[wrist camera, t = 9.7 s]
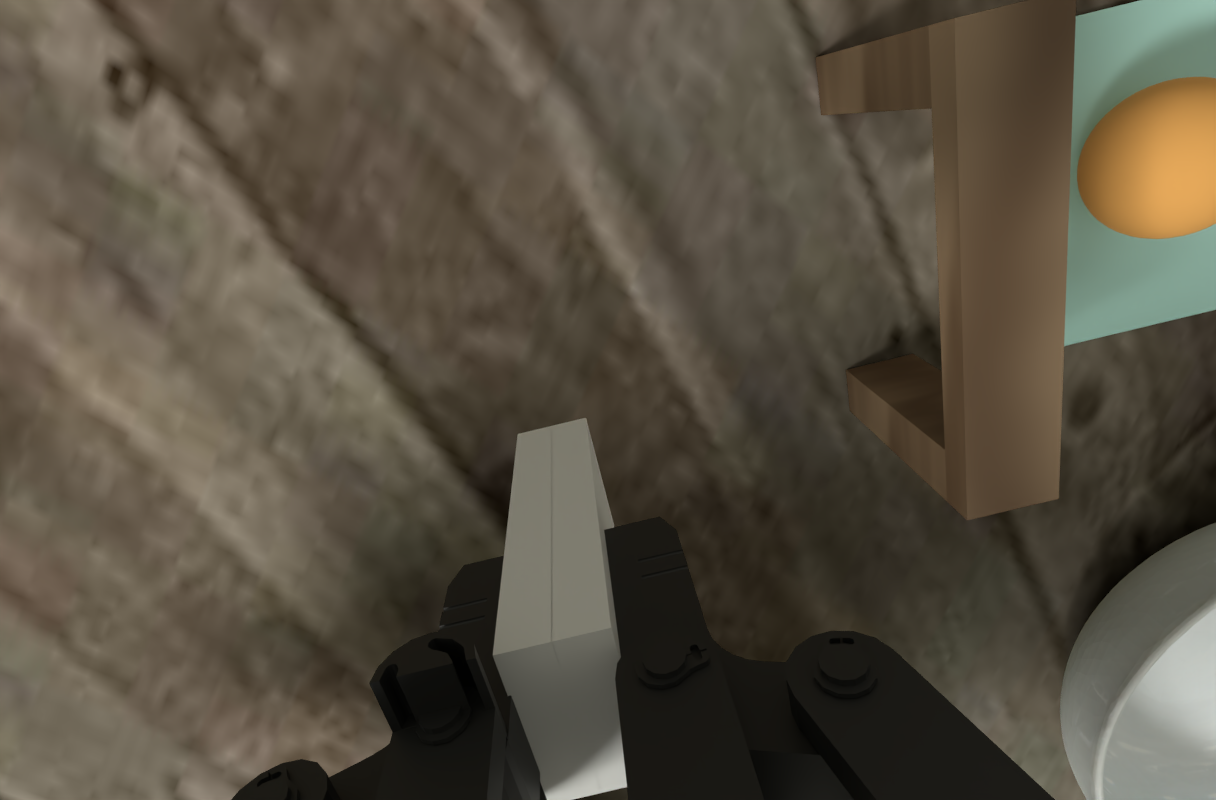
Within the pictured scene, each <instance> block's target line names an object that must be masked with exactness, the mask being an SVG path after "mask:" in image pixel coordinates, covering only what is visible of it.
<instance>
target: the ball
mask: <svg viewBox="0 0 1216 800" xmlns="http://www.w3.org/2000/svg"><path fill="white" fill-rule="evenodd" d="M1077 182H1078V189H1079V193H1080V196H1081V198H1082V200H1083V202H1084V204H1085V206H1086V207H1087V209H1088V210H1089V211H1090V213H1091V214H1092V215H1093V216H1094V217H1095V218H1096V219H1097V220H1098V221H1100V222H1101V223H1102V224H1104V225H1105V226H1107V227H1108V228H1110V229H1112V230H1114V231H1116V232H1119V233H1122V234H1125V235H1128V236H1132V237H1137V238H1147V239H1166V238H1173V237H1179V236H1184V235H1188V234H1192V233H1195V232H1198V231H1201V230H1203V229H1206V228H1208V227H1210V226H1212V225H1214V224H1216V78H1211V77H1186V78H1177V79H1172V80H1168V81H1164V82H1161V83H1158V84H1155V85H1152V86H1149V87H1147V88H1145V89H1142V90H1140V91H1138V92H1136V93H1134V94H1133V95H1131V96H1129V97H1128V98H1126V99H1124V100H1123V101H1122V102H1120V103H1119V104H1118V105H1116V106H1115V107H1114V108H1113V109H1111V110H1110V111H1109V112H1108V113H1107V114H1106V115H1105V116H1104V117H1103V118H1102V119H1101V120H1100V121H1099V122H1098V123H1097V125H1096V126H1095V127H1094V129H1093V130H1092V131H1091V133H1090V135H1089V136H1088V138H1087V140H1086V142H1085V144H1084V146H1083V148H1082V151H1081V154H1080V157H1079V161H1078V167H1077Z"/></svg>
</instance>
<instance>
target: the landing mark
mask: <svg viewBox="0 0 1216 800" xmlns="http://www.w3.org/2000/svg"><path fill="white" fill-rule="evenodd" d="M1186 77H1211V78H1216V0H1139V1H1135V2H1131V3H1127V4H1123V5H1119V6H1115V7H1111V8H1107V9H1103V10H1099V11H1095V12H1091V13H1087V14H1082V15H1078V16H1076V24H1075V53H1074V81H1073V109H1072V138H1071V166H1070V195H1069V223H1068V251H1067V280H1066V308H1065V336H1064V346H1067V345H1071V344H1075V343H1079V342H1083V341H1087V340H1092V339H1096V338H1100V337H1104V336H1108V335H1112V334H1117V333H1121V332H1125V331H1129V330H1133V329H1137V328H1142V327H1146V326H1150V325H1154V324H1158V323H1162V322H1167V321H1171V320H1175V319H1179V318H1183V317H1187V316H1192V315H1196V314H1200V313H1204V312H1208V311H1212V310H1216V224H1214V225H1212V226H1210V227H1208V228H1206V229H1203V230H1201V231H1198V232H1195V233H1192V234H1188V235H1184V236H1179V237H1173V238H1166V239H1147V238H1137V237H1132V236H1128V235H1125V234H1122V233H1119V232H1116V231H1114V230H1112V229H1110V228H1108V227H1107V226H1105V225H1104V224H1102V223H1101V222H1100V221H1098V220H1097V219H1096V218H1095V217H1094V216H1093V215H1092V214H1091V213H1090V211H1089V210H1088V209H1087V207H1086V206H1085V204H1084V202H1083V200H1082V198H1081V196H1080V193H1079V189H1078V182H1077V167H1078V161H1079V157H1080V154H1081V151H1082V148H1083V146H1084V144H1085V142H1086V140H1087V138H1088V136H1089V135H1090V133H1091V131H1092V130H1093V129H1094V127H1095V126H1096V125H1097V123H1098V122H1099V121H1100V120H1101V119H1102V118H1103V117H1104V116H1105V115H1106V114H1107V113H1108V112H1109V111H1110V110H1111V109H1113V108H1114V107H1115V106H1116V105H1118V104H1119V103H1120V102H1122V101H1123V100H1124V99H1126V98H1128V97H1129V96H1131V95H1133V94H1134V93H1136V92H1138V91H1140V90H1142V89H1145V88H1147V87H1149V86H1152V85H1155V84H1158V83H1161V82H1164V81H1168V80H1172V79H1177V78H1186Z"/></svg>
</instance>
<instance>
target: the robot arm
mask: <svg viewBox="0 0 1216 800" xmlns="http://www.w3.org/2000/svg"><path fill="white" fill-rule="evenodd" d="M443 609H444V612H442V616H441V621H440V625H439V627H440V630H439V631H438V632H434V633H429V634H427V635H424V636H421V637H418V638H416V639H413V640H411V641H409V642H408V643H406V644H405V645H403V646H402V647H400V648H398V649H397V650H395V651H394V652H393V653H392V654H391V655H390V656H389V657H388V658H387V659H386V660H385V661H384V662H383V663H382V664H381V665H380V666H379V667H378V668H377V670H376V672H375V674H374V676H373V677H372V679H371V681H370V683H369V684H370V686H371V688H372V690H373V692H374V694H375V696H376V698H377V700H378V702H379V705H380V707H381V709H382V711H383V713H384V715H385V717H386V719H387V721H388V723H389V725H390V728H391V730H392V732H393V733H392V737H391V741H390V744H389V745H387V746H386V747H385V748H383V749H382V750H380V751H378V752H377V753H375V754H373V755H372V756H370V757H368V758H366V759H364V760H363V761H361V762H359V763H357V764H355V765H353V766H351V767H349V768H347V769H345V770H343V771H341V772H339V773H337V774H335V775H333V776H331V777H328V775H327V773H326V772H325V771H324V770H323V769H322V767H321V766H320V765H319V764H318V763H317V762H312V761H308V760H303V759H301V760H296V761H291V762H286V763H282V764H280V765H278V766H276V767H274V768H272V769H270V770H268V771H266V772H263V773H261V774H260V775H259V776H257V777H256V778H255V779H253V780H252V781H251V782H250V783H248V784H247V785H246V786H244V787H243V788H242V789H241V790H239V792H238V793H237V794H236V795H235V796H234V797H233V798H232V800H574V799H578V798H582V797H586V796H591V795H595V794H599V793H603V792H608V791H612V790H616V789H621V788H625V787H627V791H628V800H1055V799H1054V798H1052V797H1051V796H1050V795H1049V794H1048V793H1047V792H1046V791H1045V790H1044V789H1043V788H1042V787H1041V786H1040V785H1038V784H1037V783H1036V782H1035V781H1034V780H1033V779H1032V778H1031V777H1030V776H1029V775H1028V774H1027V773H1026V772H1025V771H1023V770H1022V769H1021V768H1020V767H1019V766H1018V765H1017V764H1016V763H1015V762H1014V761H1013V760H1012V759H1011V758H1009V757H1008V756H1007V755H1006V754H1005V753H1004V752H1003V751H1002V750H1001V749H1000V748H999V747H998V746H997V745H995V744H994V743H993V742H992V741H991V740H990V739H989V738H988V737H987V736H986V735H985V734H984V733H983V732H981V731H980V730H979V729H978V728H977V727H976V726H975V725H974V724H973V723H972V722H971V721H970V720H969V719H967V718H966V717H965V716H964V715H963V714H962V713H961V712H960V711H959V710H958V709H957V708H956V707H955V706H953V705H952V704H951V703H950V702H949V701H948V700H947V699H946V698H945V697H944V696H943V695H942V694H941V693H939V692H938V691H937V690H936V689H935V688H934V687H933V686H932V685H931V684H930V683H929V682H928V681H927V680H925V679H924V678H923V677H922V676H921V675H920V674H919V673H918V672H917V671H916V670H915V669H914V668H913V667H911V666H910V665H909V664H908V663H907V662H906V661H905V660H904V659H903V658H902V657H901V656H900V655H899V654H897V653H896V652H895V651H894V650H893V649H892V648H890V647H889V646H887V645H885V644H884V643H882V642H881V641H879V640H878V639H876V638H874V637H871V636H867V635H864V634H861V633H857V632H854V631H830V632H826V633H822V634H818V635H815V636H811V637H810V638H808V639H807V640H805V641H804V642H802V643H801V644H799V645H798V646H796V647H795V649H794V651H793V652H792V654H791V655H790V657H789V659H788V660H787V662H763V661H755V660H747V659H744V658H741V657H738V656H735V655H733V654H731V653H729V652H728V651H726V650H724V649H723V648H721V647H720V646H719V645H718V644H717V643H716V642H715V641H714V640H713V639H712V637H711V635H710V633H709V631H708V629H707V627H706V623H705V620H704V617H703V614H702V611H701V608H700V604H699V601H698V598H697V595H696V592H695V588H694V585H693V582H692V579H691V576H690V572H689V569H688V566H687V563H686V560H685V556H684V553H683V550H682V547H681V544H680V540H679V537H678V534H677V531H676V530H675V529H674V528H673V527H672V526H671V525H669V524H668V523H667V522H666V521H664V520H663V519H662V518H661V517H656V518H652V519H648V520H643V521H639V522H635V523H631V524H627V525H622V526H618V527H614V523H613V519H612V515H611V511H610V507H609V504H608V500H607V496H606V492H605V488H604V485H603V481H602V477H601V473H600V469H599V466H598V462H597V458H596V454H595V450H594V446H593V443H592V439H591V435H590V431H589V427H588V424H587V420H586V418H582V419H578V420H574V421H570V422H566V423H562V424H558V425H553V426H549V427H545V428H541V429H537V430H533V431H528V432H524V433H520V434H518V436H517V445H516V453H515V462H514V471H513V480H512V489H511V498H510V506H509V515H508V524H507V533H506V542H505V551H504V556H501V557H497V558H493V559H489V560H484V561H480V562H476V563H472V564H468V565H464V566H463V567H462V569H461V570H460V571H459V573H458V574H457V576H456V577H455V578H454V580H453V581H452V582H451V584H450V585H449V586H448V590H447V594H446V599H445V603H444V608H443Z"/></svg>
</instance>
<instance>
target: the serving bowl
mask: <svg viewBox="0 0 1216 800" xmlns="http://www.w3.org/2000/svg"><path fill="white" fill-rule="evenodd" d="M1060 718H1061V729H1062V736H1063V741H1064V746H1065V750H1066V753H1067V757H1068V760H1069V763H1070V766H1071V768H1072V771H1073V773H1074V775H1075V778H1076V780H1077V782H1078V784H1079V786H1080V788H1081V790H1082V792H1083V793H1084V795H1085V797H1086V799H1087V800H1216V523H1213V524H1210V525H1208V526H1206V527H1203V528H1201V529H1198V530H1196V531H1194V532H1192V533H1190V534H1188V535H1186V536H1184V537H1182V538H1180V539H1178V540H1176V541H1175V542H1173V543H1171V544H1169V545H1168V546H1166V547H1164V548H1163V549H1161V550H1160V551H1158V552H1156V553H1155V554H1153V555H1152V556H1150V557H1149V558H1148V559H1146V560H1145V561H1144V562H1142V563H1141V564H1140V565H1139V566H1137V567H1136V568H1135V569H1134V570H1132V571H1131V572H1130V573H1129V574H1128V575H1126V576H1125V577H1124V578H1123V579H1122V580H1121V581H1120V582H1119V583H1118V584H1117V585H1116V586H1115V587H1114V588H1113V589H1112V590H1111V591H1110V592H1109V593H1108V594H1107V595H1106V597H1105V598H1104V599H1103V600H1102V601H1101V602H1100V604H1099V605H1098V606H1097V607H1096V609H1095V610H1094V611H1093V613H1092V614H1091V616H1090V617H1089V619H1088V620H1087V622H1086V623H1085V625H1084V626H1083V628H1082V630H1081V632H1080V633H1079V635H1078V637H1077V639H1076V642H1075V644H1074V646H1073V648H1072V651H1071V653H1070V656H1069V659H1068V662H1067V666H1066V669H1065V673H1064V678H1063V683H1062V690H1061V700H1060Z"/></svg>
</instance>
